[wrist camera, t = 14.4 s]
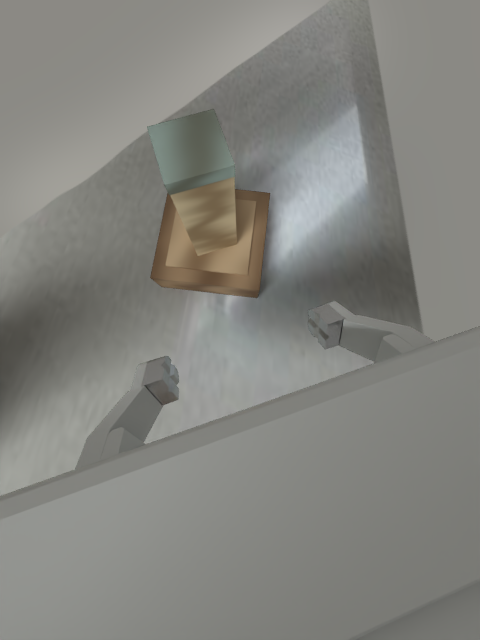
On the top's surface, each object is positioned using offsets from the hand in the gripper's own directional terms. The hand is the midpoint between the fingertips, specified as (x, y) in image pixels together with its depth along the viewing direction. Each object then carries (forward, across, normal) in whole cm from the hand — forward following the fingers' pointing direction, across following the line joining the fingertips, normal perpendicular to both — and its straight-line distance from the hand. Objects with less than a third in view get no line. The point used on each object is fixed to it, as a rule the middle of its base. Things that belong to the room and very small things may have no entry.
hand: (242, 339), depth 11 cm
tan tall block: (+15, -1, -3) cm, 16 cm away
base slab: (+18, -1, 0) cm, 18 cm away
